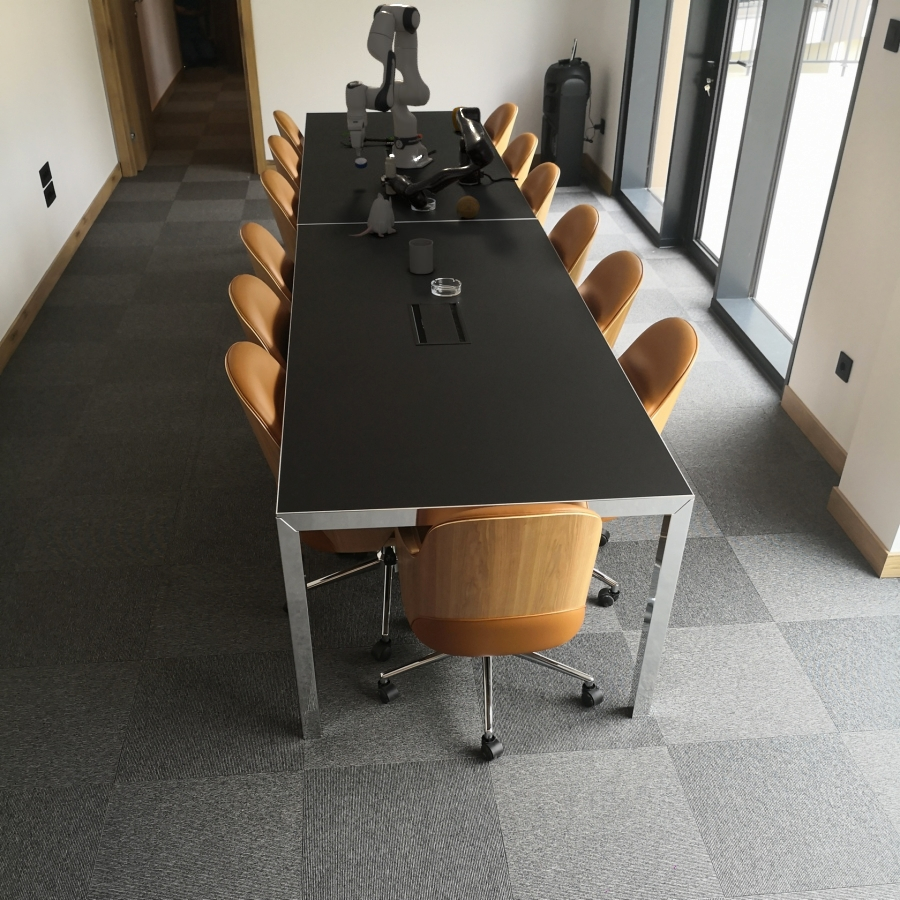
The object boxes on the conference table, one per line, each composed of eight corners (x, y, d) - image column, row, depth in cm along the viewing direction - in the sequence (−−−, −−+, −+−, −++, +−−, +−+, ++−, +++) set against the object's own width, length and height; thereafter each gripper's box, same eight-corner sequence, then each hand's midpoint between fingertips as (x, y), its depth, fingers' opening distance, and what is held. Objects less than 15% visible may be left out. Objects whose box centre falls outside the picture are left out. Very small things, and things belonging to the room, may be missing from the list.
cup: (409, 265, 311) (408, 238, 306) (432, 265, 312) (431, 238, 307) (410, 274, 304) (409, 246, 299) (433, 273, 305) (433, 246, 299)
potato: (477, 211, 365) (478, 192, 361) (481, 222, 353) (481, 202, 349) (454, 211, 364) (454, 192, 360) (457, 222, 352) (457, 203, 348)
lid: (361, 170, 394) (361, 165, 393) (352, 165, 397) (352, 161, 395) (369, 165, 397) (369, 160, 395) (361, 160, 399) (360, 156, 398)
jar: (385, 191, 390) (384, 156, 382) (396, 191, 390) (395, 156, 382) (386, 194, 386) (385, 159, 378) (397, 194, 387) (396, 159, 378)
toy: (401, 232, 342) (400, 194, 334) (357, 247, 328) (354, 207, 320) (386, 227, 348) (384, 189, 339) (341, 241, 333) (338, 202, 325)
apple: (471, 132, 486) (471, 108, 479) (451, 132, 486) (451, 108, 479) (470, 128, 495) (471, 104, 488) (452, 128, 495) (452, 104, 488)
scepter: (396, 128, 463) (340, 126, 461) (396, 143, 456) (339, 141, 454) (396, 138, 468) (340, 135, 466) (396, 153, 461) (339, 151, 459)
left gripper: (353, 115, 393) (356, 146, 401) (347, 127, 376) (350, 159, 384) (367, 114, 393) (369, 146, 401) (361, 127, 376) (364, 159, 384)
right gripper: (387, 197, 373) (374, 186, 386) (418, 193, 378) (403, 183, 391) (386, 179, 369) (373, 169, 382) (417, 175, 374) (403, 166, 387)
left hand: (360, 152), depth 392 cm, fingers open, 8 cm apart
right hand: (388, 176), depth 387 cm, fingers closed on jar, 4 cm apart
